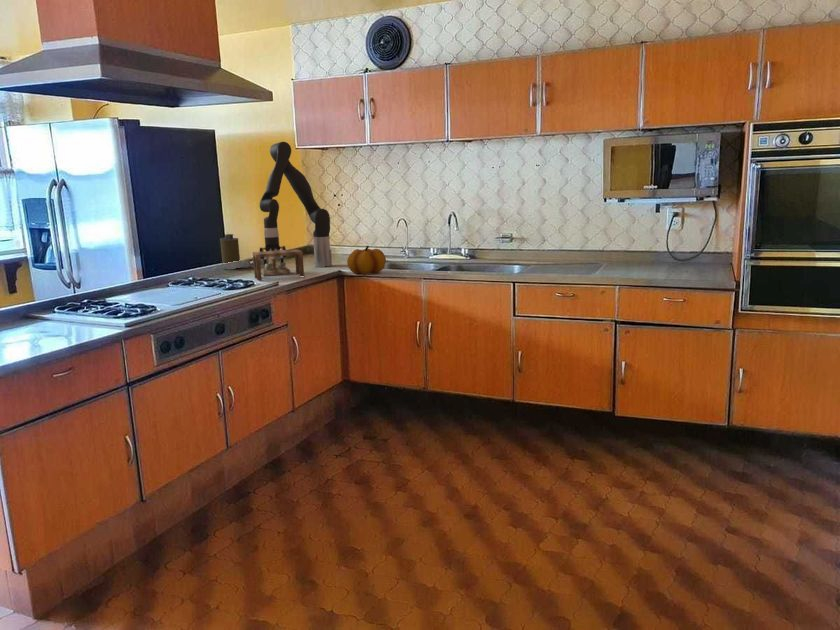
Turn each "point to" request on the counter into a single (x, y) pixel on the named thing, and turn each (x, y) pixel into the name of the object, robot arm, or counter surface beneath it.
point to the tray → (274, 268)
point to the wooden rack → (295, 252)
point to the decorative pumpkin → (366, 261)
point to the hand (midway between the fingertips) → (273, 265)
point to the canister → (229, 249)
